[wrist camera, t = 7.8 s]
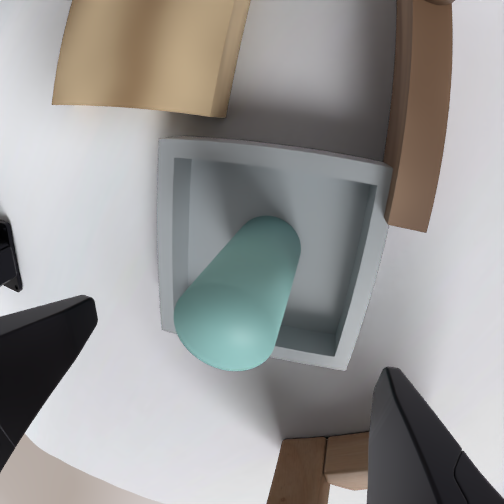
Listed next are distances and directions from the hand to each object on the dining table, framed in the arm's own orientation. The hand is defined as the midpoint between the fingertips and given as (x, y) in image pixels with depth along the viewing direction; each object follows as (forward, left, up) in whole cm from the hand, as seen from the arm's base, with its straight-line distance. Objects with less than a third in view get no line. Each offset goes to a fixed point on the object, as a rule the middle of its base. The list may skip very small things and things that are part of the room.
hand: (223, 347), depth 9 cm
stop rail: (+5, +9, -8) cm, 13 cm away
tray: (0, 0, -8) cm, 8 cm away
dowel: (0, 0, -8) cm, 8 cm away
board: (-8, +10, -9) cm, 15 cm away
